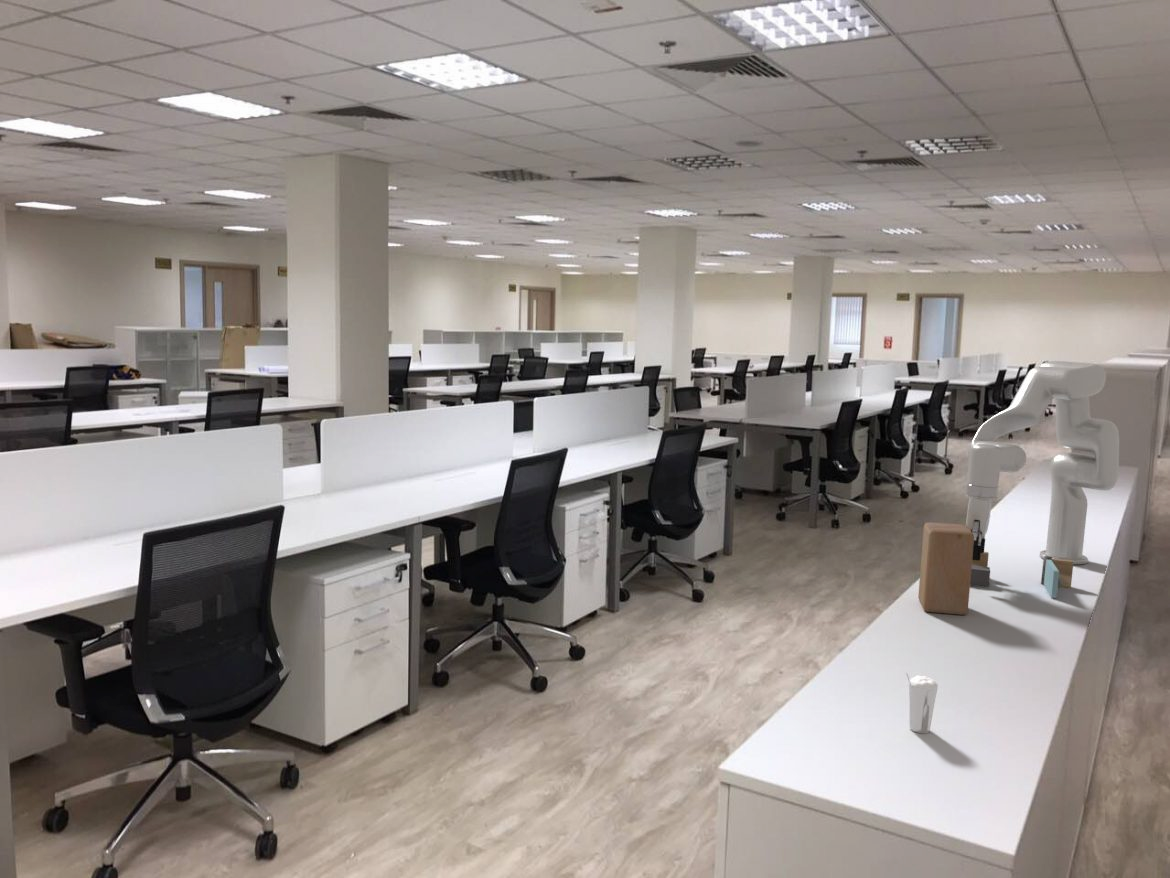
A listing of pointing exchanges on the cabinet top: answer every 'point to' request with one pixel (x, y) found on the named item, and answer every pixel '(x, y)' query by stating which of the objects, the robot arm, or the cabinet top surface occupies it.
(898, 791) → the cabinet top surface
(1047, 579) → the door
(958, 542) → the wooden block
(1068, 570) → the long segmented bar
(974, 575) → the charcoal brick
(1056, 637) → the cabinet top surface
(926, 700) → the milkshake
